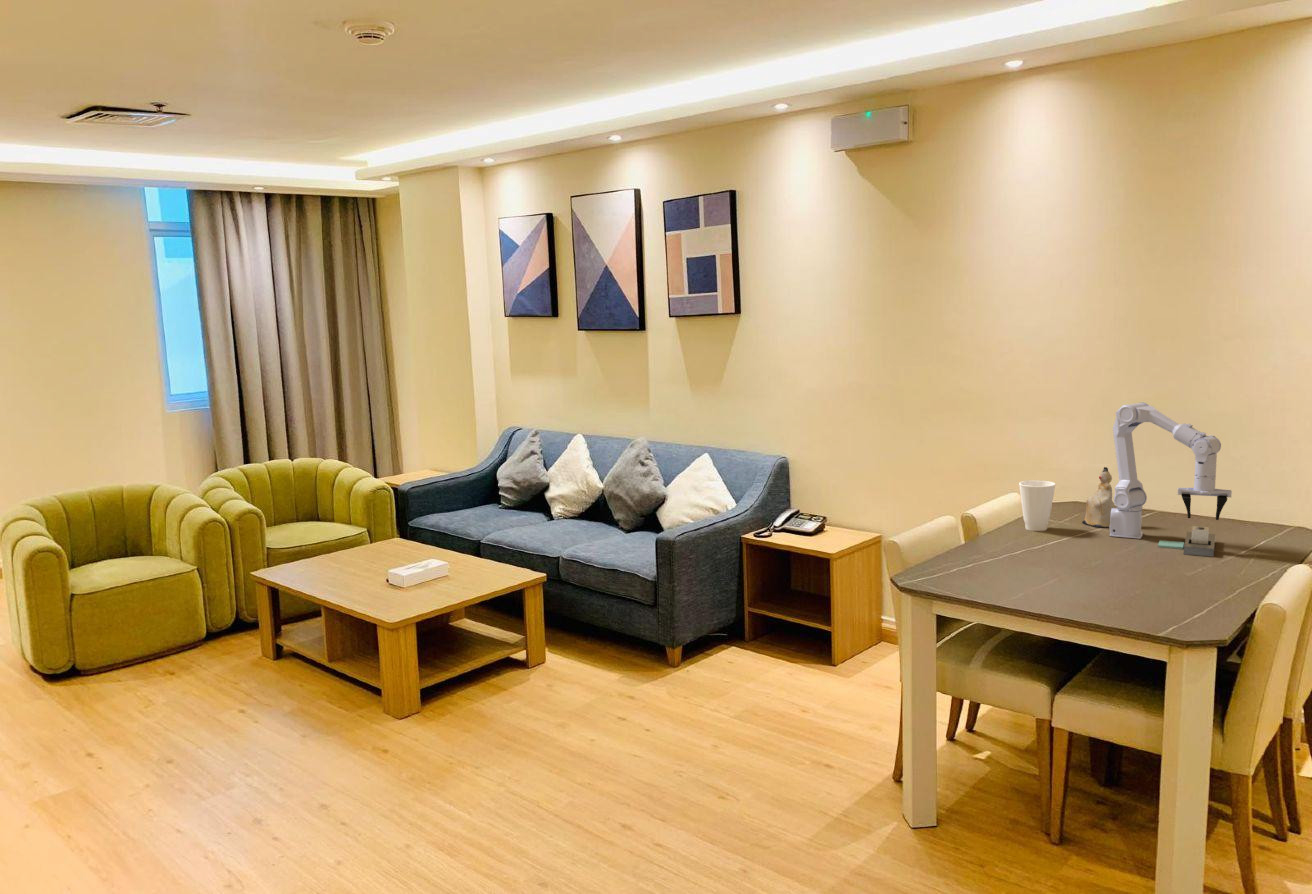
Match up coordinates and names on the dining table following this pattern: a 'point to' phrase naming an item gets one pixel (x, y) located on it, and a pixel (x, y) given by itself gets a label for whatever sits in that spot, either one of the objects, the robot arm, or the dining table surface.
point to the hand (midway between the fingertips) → (1203, 518)
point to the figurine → (1100, 503)
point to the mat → (1171, 544)
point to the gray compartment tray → (1199, 546)
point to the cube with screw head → (1200, 535)
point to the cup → (1036, 503)
